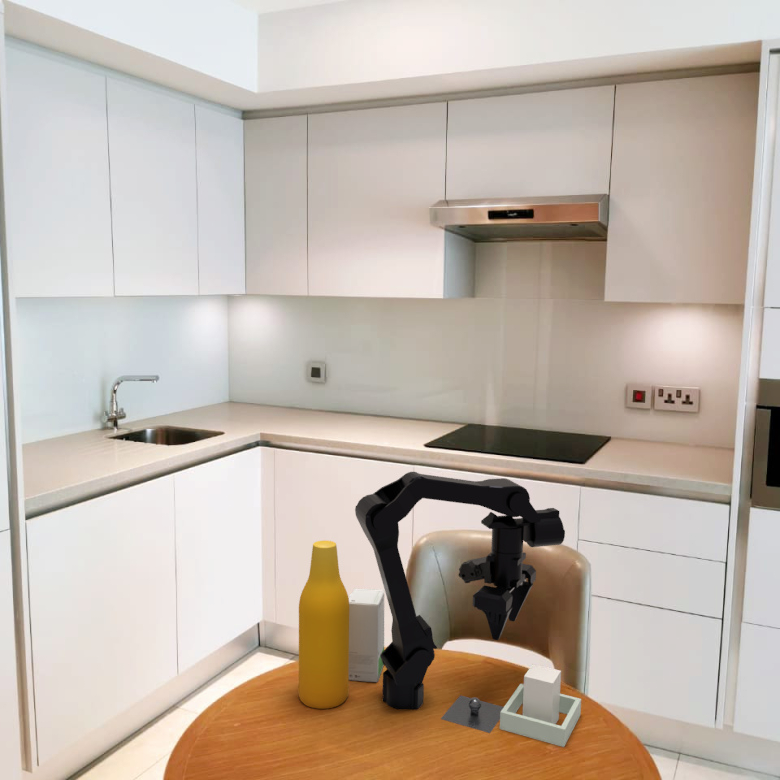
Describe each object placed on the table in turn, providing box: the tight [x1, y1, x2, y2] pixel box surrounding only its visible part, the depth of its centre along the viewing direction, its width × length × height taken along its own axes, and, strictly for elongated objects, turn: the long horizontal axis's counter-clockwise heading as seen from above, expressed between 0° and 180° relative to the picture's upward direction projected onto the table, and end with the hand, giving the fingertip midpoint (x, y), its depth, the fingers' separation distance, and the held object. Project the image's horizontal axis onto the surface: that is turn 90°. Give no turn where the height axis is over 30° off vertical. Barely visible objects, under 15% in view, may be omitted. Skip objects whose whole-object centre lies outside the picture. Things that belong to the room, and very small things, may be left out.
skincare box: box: [348, 587, 385, 683], centre depth 153 cm, size 8×7×16 cm
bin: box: [499, 683, 582, 748], centre depth 135 cm, size 11×11×4 cm
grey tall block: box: [522, 663, 562, 725], centre depth 135 cm, size 5×5×9 cm
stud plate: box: [440, 695, 504, 734], centre depth 138 cm, size 9×9×4 cm
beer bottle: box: [297, 540, 350, 710], centre depth 142 cm, size 9×9×29 cm
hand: (504, 629), depth 146 cm, fingers open, 9 cm apart
